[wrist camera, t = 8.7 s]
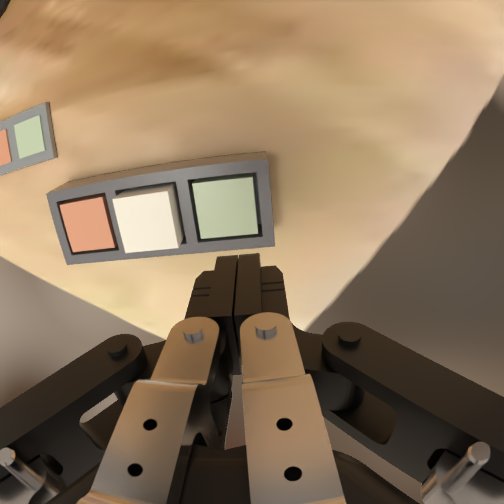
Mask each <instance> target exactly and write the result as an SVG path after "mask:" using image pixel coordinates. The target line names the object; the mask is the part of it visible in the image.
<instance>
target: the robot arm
mask: <svg viewBox="0 0 504 504" xmlns="http://www.w3.org/2000/svg"><path fill="white" fill-rule="evenodd" d="M242 368H243V383H242V395H243V407H244V408H243V409H244V423H245V436H246V445H244V446H240V447H236V448H231V449H227V450H225V440H226V433H227V427H228V421H229V415H230V408H231V402H232V394H233V393H232V389H231V387H232V380H233V375H240V374H241V371H242ZM112 393H115V395H116V397H117V398H118V400H117V401H116V402H114V403H113V404H112V405H110V406H109V407H108V408H106V409H105V410H103V411H102V412H100V413H99V414H98V415H96V416H95V417H93V418H92V419H90V420H89V421H87V422H85V423H79V421H80V418H81V416H82V415H83V414H84V413H85V412H86V411H88V410H89V409H91V408H92V407H94V406H95V405H96V404H98V403H99V402H101V401H102V400H104V399H105V398H106V397H108V396H109V395H111V394H112ZM323 416H324V417H325V418H326V419H327V420H329V421H330V422H332V423H333V424H334V425H336V426H337V427H338V428H340V429H341V430H343V431H344V432H345V433H347V434H348V435H350V436H351V437H352V438H354V439H355V440H357V441H358V442H360V443H361V444H362V445H364V446H365V447H367V448H368V449H370V450H371V451H373V452H374V453H376V454H377V455H378V456H380V457H382V458H383V459H385V460H386V461H388V462H389V463H391V464H392V465H394V466H395V467H397V468H399V469H400V470H401V471H403V472H405V473H406V474H408V475H409V476H411V477H412V478H414V479H416V480H417V481H419V482H421V483H422V485H421V496H422V499H423V501H424V503H425V504H504V397H502V396H500V395H498V394H496V393H494V392H493V391H491V390H488V389H486V388H484V387H482V386H481V385H479V384H477V383H475V382H473V381H471V380H469V379H467V378H465V377H463V376H461V375H459V374H457V373H455V372H453V371H451V370H449V369H447V368H445V367H444V366H442V365H440V364H438V363H436V362H434V361H432V360H430V359H428V358H426V357H424V356H422V355H420V354H418V353H416V352H414V351H413V350H411V349H409V348H407V347H405V346H403V345H401V344H399V343H397V342H395V341H393V340H391V339H390V338H388V337H386V336H384V335H382V334H380V333H378V332H376V331H374V330H372V329H370V328H369V327H367V326H365V325H362V324H360V323H355V322H341V323H337V324H334V325H332V326H331V327H329V328H328V329H327V330H326V331H325V332H324V334H323V335H320V334H312V333H308V332H304V331H302V330H300V329H298V328H296V327H295V326H294V325H293V324H292V323H291V321H290V318H289V313H288V306H287V299H286V293H285V286H284V280H283V273H282V272H281V271H280V270H279V269H278V268H277V267H276V266H265V267H261V264H260V254H259V253H256V254H244V255H239V258H238V255H232V256H220V257H217V260H216V264H215V269H214V271H203V272H202V273H201V274H200V275H199V276H198V277H197V278H196V280H195V283H194V287H193V290H192V294H191V297H190V301H189V305H188V308H187V312H186V315H185V319H184V320H182V321H180V322H178V323H177V324H176V325H175V326H173V328H172V329H171V331H170V333H169V335H168V338H167V340H165V341H162V342H159V343H154V344H150V345H146V346H142V343H141V341H140V340H139V338H137V337H136V336H134V335H130V334H120V335H116V336H113V337H110V338H108V339H107V340H105V341H104V342H102V343H101V344H99V345H97V346H96V347H94V348H93V349H91V350H89V351H88V352H86V353H85V354H83V355H82V356H80V357H79V358H77V359H75V360H74V361H72V362H71V363H69V364H68V365H66V366H65V367H63V368H61V369H60V370H58V371H57V372H55V373H54V374H52V375H51V376H49V377H47V378H46V379H44V380H43V381H41V382H40V383H38V384H37V385H35V386H34V387H32V388H30V389H29V390H27V391H26V392H24V393H23V394H21V395H19V396H18V397H16V398H15V399H13V400H12V401H10V402H9V403H7V404H6V405H4V406H2V407H1V408H0V504H419V503H417V502H416V501H415V500H413V499H412V498H410V497H409V496H407V495H406V494H404V493H403V492H402V491H400V490H399V489H397V488H396V487H395V486H393V485H392V484H390V483H389V482H388V481H386V480H385V479H383V478H382V477H381V476H379V475H378V474H377V473H375V472H374V471H373V470H371V469H370V468H369V467H367V466H366V465H364V464H363V463H362V462H360V461H359V460H357V459H355V458H353V457H351V456H349V455H346V454H344V453H342V452H338V451H335V450H332V448H331V445H330V441H329V438H328V434H327V430H326V426H325V423H324V419H323Z"/></svg>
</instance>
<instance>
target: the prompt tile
mask: <svg viewBox="0 0 504 504" xmlns="http://www.w3.org/2000/svg"><path fill="white" fill-rule="evenodd" d="M56 157H58V156H57V151H56V146H55V140H54V134H53V128H52V121H51V114H50V106H49V102H47V103H43V104H41V105H38V106H36V107H33V108H31V109H28V110H26V111H24V112H21V113H19V114H17V115H14V116H12V117H10V118H8V119H6V120H3V121H1V122H0V175H3V174H6V173H9V172H12V171H15V170H18V169H21V168H24V167H27V166H30V165H33V164H37V163H40V162H43V161H47V160H50V159H53V158H56Z"/></svg>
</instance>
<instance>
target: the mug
mask: <svg viewBox="0 0 504 504" xmlns="http://www.w3.org/2000/svg"><path fill="white" fill-rule="evenodd" d="M9 2H10V0H0V18H1V16H2V15H3V13H4V12H5V10H6V8H7V6H8V4H9Z"/></svg>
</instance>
